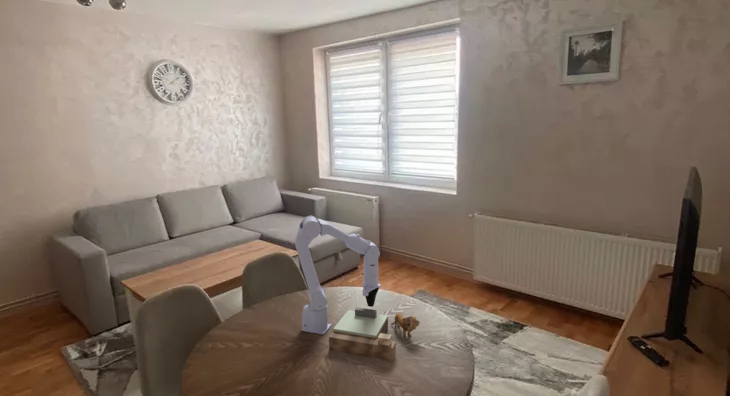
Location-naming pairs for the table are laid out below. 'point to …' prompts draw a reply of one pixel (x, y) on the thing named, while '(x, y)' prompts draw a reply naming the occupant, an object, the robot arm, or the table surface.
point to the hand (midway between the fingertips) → (370, 305)
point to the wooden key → (384, 339)
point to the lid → (361, 322)
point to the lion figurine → (405, 324)
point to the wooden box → (362, 345)
